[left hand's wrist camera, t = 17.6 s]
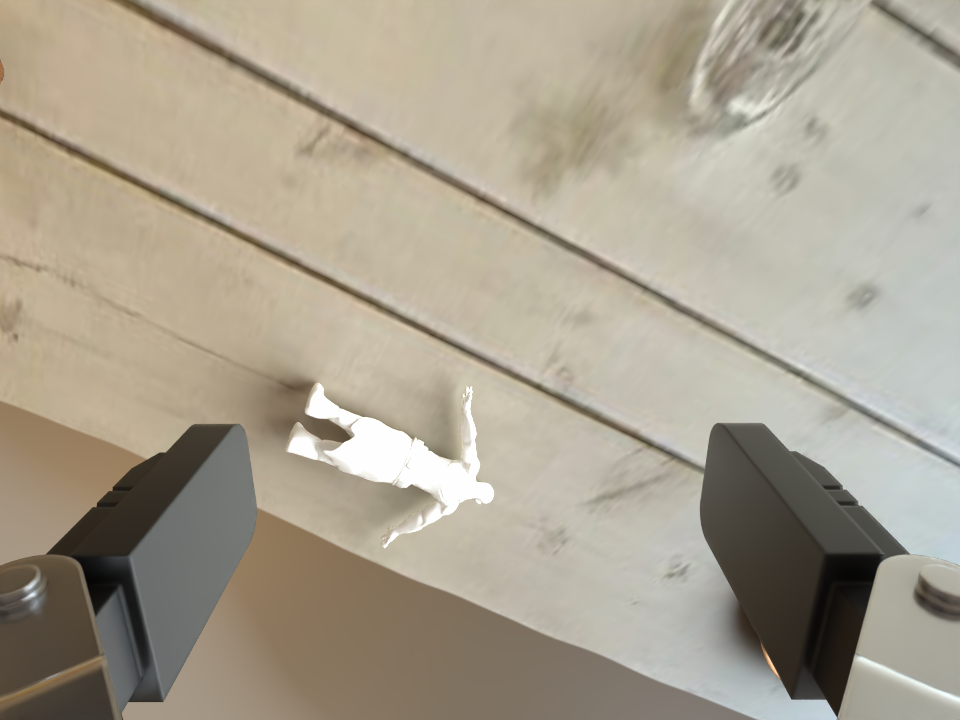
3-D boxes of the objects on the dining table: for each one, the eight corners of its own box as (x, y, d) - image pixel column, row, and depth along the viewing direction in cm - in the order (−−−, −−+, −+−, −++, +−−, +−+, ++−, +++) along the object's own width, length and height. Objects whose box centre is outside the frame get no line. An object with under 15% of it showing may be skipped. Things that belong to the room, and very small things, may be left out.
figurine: (265, 482, 57) (445, 546, 62) (253, 518, 52) (449, 584, 57) (344, 317, 51) (533, 401, 56) (338, 340, 47) (546, 430, 52)
